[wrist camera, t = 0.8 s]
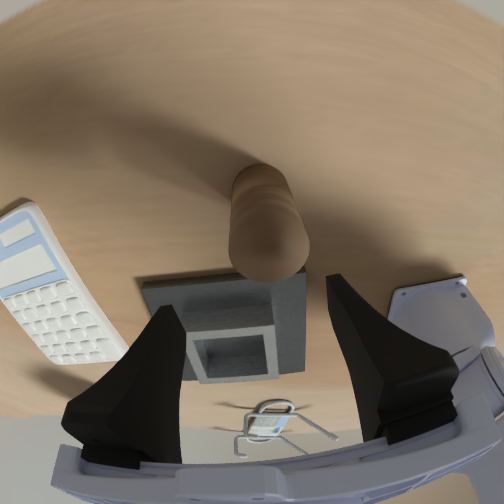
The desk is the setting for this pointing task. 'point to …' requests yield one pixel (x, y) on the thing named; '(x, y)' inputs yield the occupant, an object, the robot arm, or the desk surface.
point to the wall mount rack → (272, 426)
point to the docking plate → (237, 325)
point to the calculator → (51, 293)
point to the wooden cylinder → (265, 226)
